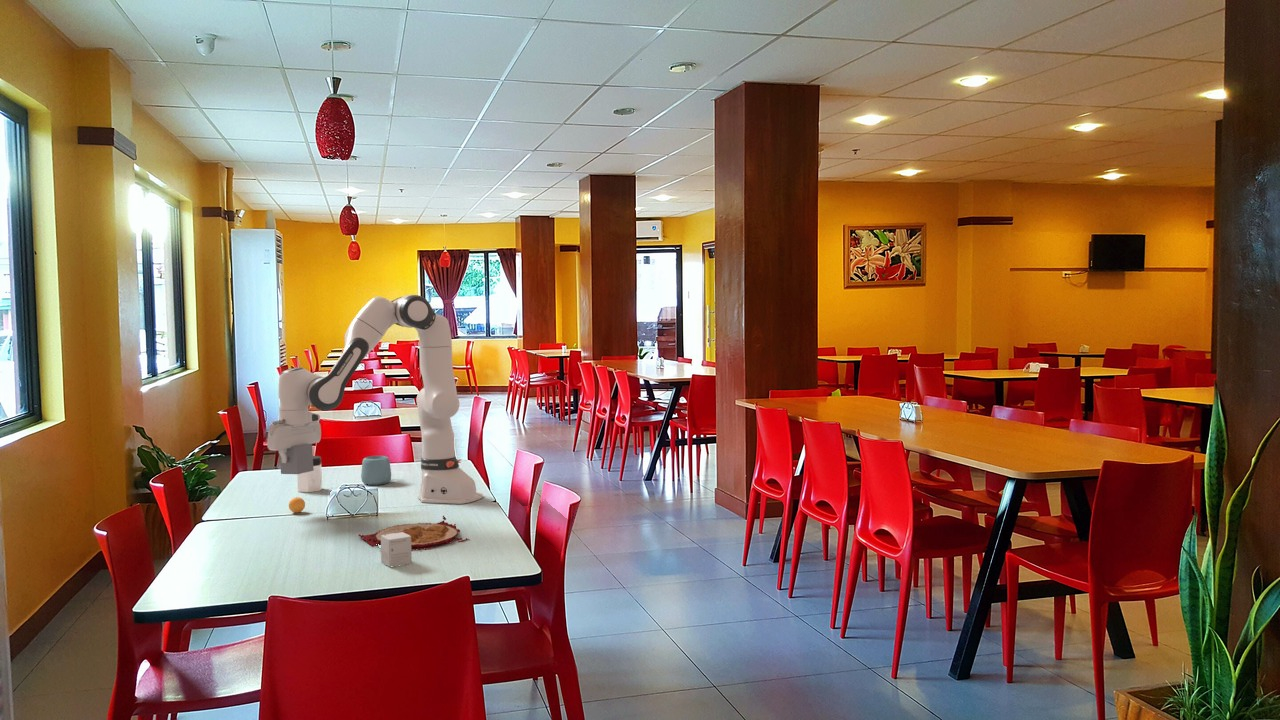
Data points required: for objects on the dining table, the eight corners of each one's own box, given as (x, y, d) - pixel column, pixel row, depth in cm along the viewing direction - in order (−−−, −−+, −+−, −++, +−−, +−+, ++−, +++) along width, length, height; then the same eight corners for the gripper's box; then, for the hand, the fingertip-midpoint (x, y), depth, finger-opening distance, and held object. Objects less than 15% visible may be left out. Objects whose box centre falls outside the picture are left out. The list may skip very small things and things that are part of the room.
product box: (389, 568, 225) (388, 539, 224) (380, 562, 230) (380, 534, 229) (412, 564, 228) (411, 536, 228) (403, 558, 233) (402, 531, 233)
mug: (372, 478, 346) (371, 453, 345) (399, 478, 345) (399, 453, 344) (356, 486, 331) (355, 459, 330) (384, 486, 330) (384, 459, 329)
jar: (302, 493, 318) (301, 460, 317) (293, 490, 323) (292, 457, 323) (326, 490, 324) (325, 457, 323) (317, 486, 330) (316, 454, 329)
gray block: (313, 470, 288) (311, 443, 288) (297, 474, 282) (296, 446, 282) (297, 470, 291) (295, 443, 291) (280, 473, 285) (279, 446, 284)
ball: (296, 495, 290) (296, 510, 291) (285, 497, 286) (285, 513, 286) (308, 496, 289) (308, 511, 289) (297, 499, 284) (297, 515, 284)
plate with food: (358, 541, 255) (357, 529, 255) (444, 525, 271) (443, 513, 270) (388, 561, 235) (388, 548, 235) (479, 543, 251) (479, 530, 250)
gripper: (277, 422, 275) (278, 466, 276) (323, 414, 294) (324, 456, 295) (261, 421, 277) (263, 465, 278) (308, 414, 296) (310, 455, 297)
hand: (295, 460), depth 287 cm, fingers closed on gray block, 7 cm apart
